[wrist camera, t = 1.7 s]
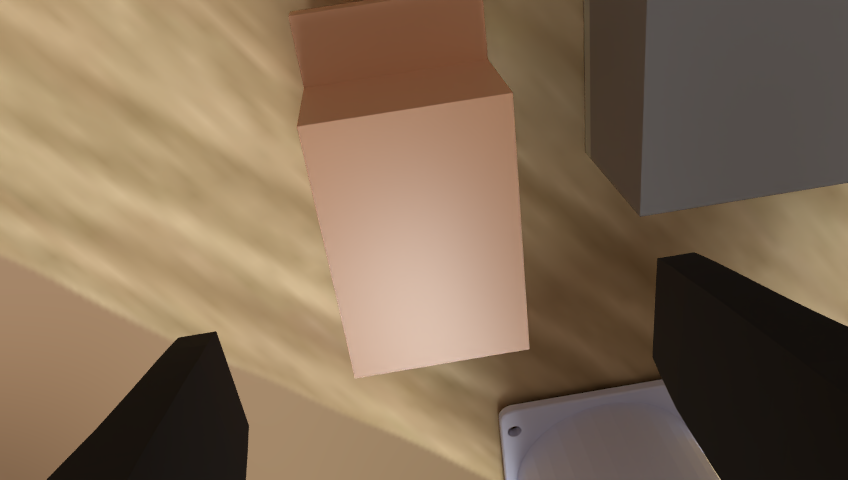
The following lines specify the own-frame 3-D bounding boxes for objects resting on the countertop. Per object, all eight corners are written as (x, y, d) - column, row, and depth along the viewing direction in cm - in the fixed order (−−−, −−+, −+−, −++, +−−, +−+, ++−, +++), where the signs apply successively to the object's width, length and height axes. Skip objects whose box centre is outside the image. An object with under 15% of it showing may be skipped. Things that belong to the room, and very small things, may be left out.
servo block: (481, 253, 22) (532, 398, 16) (360, 272, 22) (366, 426, 16) (451, -40, 18) (507, 8, 12) (300, -17, 18) (278, 44, 12)
